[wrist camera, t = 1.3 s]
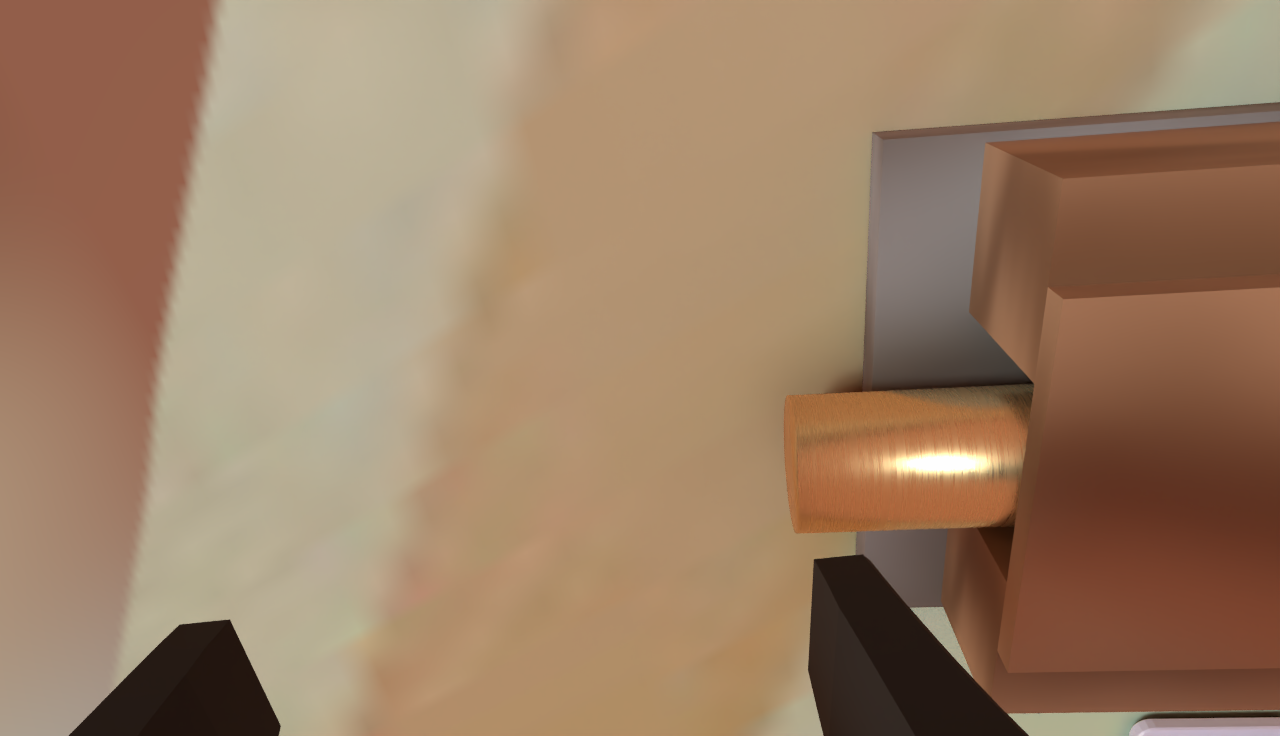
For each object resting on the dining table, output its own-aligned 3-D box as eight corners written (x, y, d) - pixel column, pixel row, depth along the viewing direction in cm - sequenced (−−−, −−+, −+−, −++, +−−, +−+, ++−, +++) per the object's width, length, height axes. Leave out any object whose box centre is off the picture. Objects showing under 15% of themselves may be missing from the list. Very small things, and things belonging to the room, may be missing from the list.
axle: (1393, 427, 18) (1487, 539, 16) (782, 451, 19) (796, 560, 17) (1479, 332, 16) (1600, 447, 14) (786, 367, 17) (803, 478, 15)
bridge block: (1446, 567, 20) (1673, 736, 16) (854, 583, 22) (900, 744, 17) (1654, 74, 15) (2078, 105, 11) (872, 132, 17) (944, 183, 12)
